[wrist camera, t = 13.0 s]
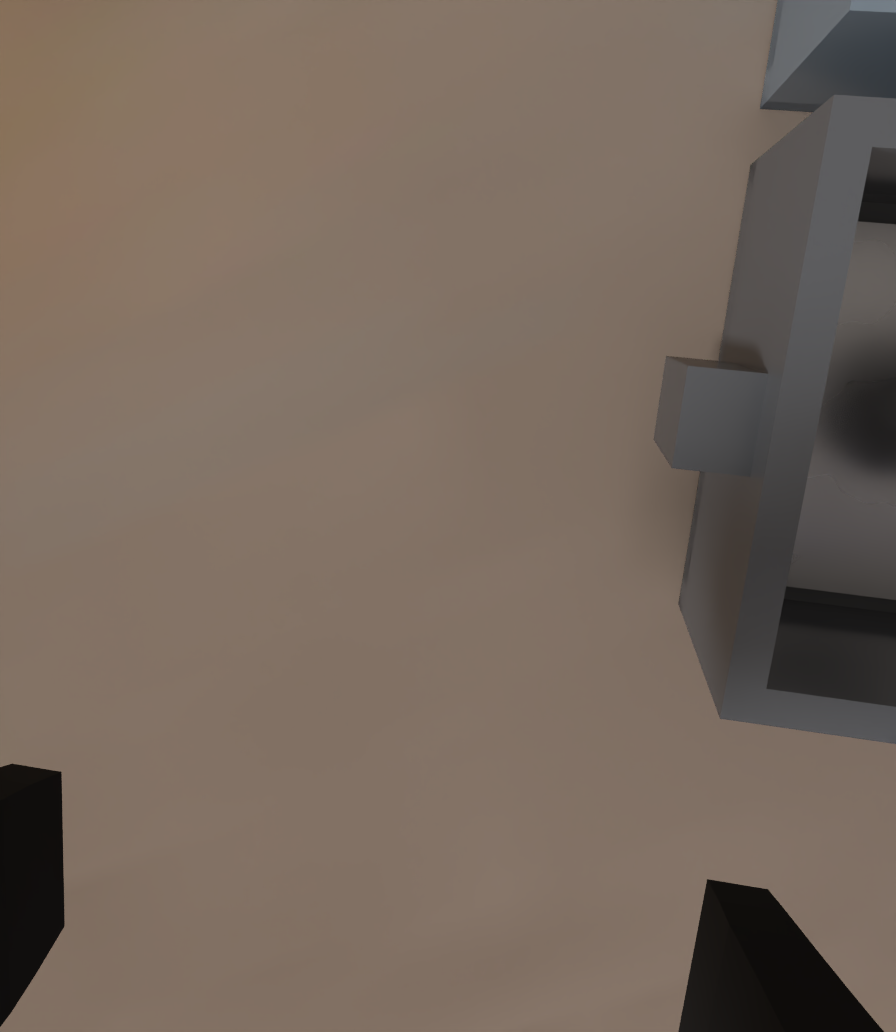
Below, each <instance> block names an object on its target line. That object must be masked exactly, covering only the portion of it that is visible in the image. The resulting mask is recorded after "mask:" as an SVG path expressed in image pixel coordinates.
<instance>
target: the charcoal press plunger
mask: <svg viewBox="0 0 896 1032" xmlns="http://www.w3.org/2000/svg"><path fill="white" fill-rule="evenodd" d="M786 586H788V587H796V588H804V589H812V590H820V591H828V592H836V593H844V594H852V595H860V596H867V597H875V598H883V599H891V600H896V224H885V223H872V222H859V221H858V222H857V227H856V233H855V238H854V243H853V248H852V253H851V258H850V263H849V268H848V273H847V279H846V284H845V289H844V294H843V299H842V304H841V309H840V314H839V319H838V325H837V330H836V335H835V340H834V345H833V350H832V355H831V360H830V365H829V371H828V376H827V381H826V386H825V391H824V396H823V401H822V406H821V411H820V417H819V422H818V427H817V432H816V437H815V442H814V447H813V452H812V457H811V463H810V468H809V473H808V478H807V483H806V488H805V493H804V498H803V503H802V509H801V514H800V519H799V524H798V529H797V534H796V539H795V544H794V549H793V555H792V560H791V565H790V570H789V575H788V580H787V585H786Z"/></svg>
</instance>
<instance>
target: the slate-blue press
mask: <svg viewBox="0 0 896 1032" xmlns="http://www.w3.org/2000/svg"><path fill="white" fill-rule="evenodd" d="M833 95H846V96H863V97H879V98H895V99H896V0H778V2H777V8H776V14H775V20H774V26H773V32H772V38H771V45H770V51H769V57H768V63H767V69H766V75H765V81H764V87H763V93H762V99H761V105H760V109H771V110H787V111H802V112H814V111H815V110H817V109H818V108H819V107H820V106H821V105H823V104H824V103H825V102H826V101H827V100H828V99H830V98H831V97H832V96H833Z"/></svg>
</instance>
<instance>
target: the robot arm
mask: <svg viewBox="0 0 896 1032" xmlns="http://www.w3.org/2000/svg"><path fill="white" fill-rule="evenodd" d="M63 928H64V878H63V829H62V780H61V772H58V771H52V770H46V769H40V768H34V767H28V766H22V765H16V764H10V765H6V766H3V767H0V1026H1V1025H2V1024H3V1022H4V1021H5V1020H6V1018H7V1017H8V1016H9V1015H10V1013H11V1012H12V1010H13V1009H14V1007H15V1006H16V1004H17V1002H18V1001H19V999H20V998H21V996H22V995H23V993H24V992H25V990H26V988H27V987H28V985H29V984H30V982H31V981H32V979H33V977H34V976H35V974H36V973H37V971H38V969H39V968H40V966H41V964H42V963H43V961H44V959H45V958H46V956H47V954H48V953H49V951H50V949H51V948H52V946H53V944H54V943H55V941H56V939H57V938H58V936H59V934H60V933H61V931H62V929H63ZM679 1032H884V1031H883V1030H882V1029H881V1028H880V1027H879V1025H878V1024H877V1023H876V1022H875V1021H874V1020H873V1018H872V1017H871V1016H870V1015H869V1014H868V1012H867V1011H866V1010H865V1009H864V1008H863V1006H862V1005H861V1004H860V1003H859V1002H858V1000H857V999H856V998H855V997H854V995H853V994H852V993H851V992H850V991H849V989H848V988H847V987H846V986H845V984H844V983H843V982H842V981H841V980H840V978H839V977H838V976H837V975H836V973H835V972H834V971H833V970H832V968H831V967H830V966H829V965H828V963H827V962H826V961H825V960H824V959H823V957H822V956H821V955H820V954H819V952H818V951H817V950H816V949H815V947H814V946H813V945H812V944H811V942H810V941H809V940H808V939H807V937H806V936H805V935H804V933H803V932H802V931H801V930H800V928H799V927H798V926H797V925H796V923H795V922H794V921H793V920H792V918H791V917H790V916H789V915H788V913H787V912H786V911H785V910H784V908H783V907H782V906H781V905H780V903H779V902H778V901H777V900H776V899H775V897H774V896H773V895H772V894H771V893H770V891H769V890H768V889H762V888H756V887H750V886H744V885H738V884H732V883H726V882H720V881H714V880H708V879H707V884H706V889H705V894H704V900H703V905H702V910H701V916H700V921H699V926H698V932H697V937H696V942H695V947H694V953H693V958H692V963H691V969H690V974H689V979H688V985H687V990H686V995H685V1000H684V1006H683V1011H682V1016H681V1022H680V1027H679Z"/></svg>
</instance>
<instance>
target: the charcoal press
mask: <svg viewBox="0 0 896 1032" xmlns="http://www.w3.org/2000/svg"><path fill="white" fill-rule="evenodd" d="M858 221H859V222H872V223H885V224H896V99H895V98H879V97H863V96H846V95H833V96H832V97H831V98H830V99H828V100H827V101H826V102H825V103H824V104H823V105H821V106H820V107H819V108H818V109H817V110H815V111H814V112H813V113H812V114H811V115H809V116H808V117H807V118H806V119H805V120H803V121H802V122H801V123H800V124H799V125H797V126H796V127H795V128H794V129H793V130H792V131H790V132H789V133H788V134H787V135H786V136H784V137H783V138H782V139H781V140H780V141H778V142H777V143H776V144H775V145H774V146H772V147H771V148H770V149H769V150H768V151H767V152H765V153H764V154H763V155H762V156H761V157H759V158H758V159H757V160H756V161H755V162H753V163H752V164H751V166H750V172H749V178H748V184H747V190H746V196H745V203H744V209H743V215H742V221H741V227H740V233H739V239H738V245H737V251H736V257H735V263H734V269H733V275H732V282H731V288H730V294H729V300H728V306H727V312H726V318H725V324H724V330H723V336H722V342H721V348H720V354H719V361H713V360H703V359H692V358H682V357H672V356H666V360H665V366H664V373H663V380H662V387H661V393H660V400H659V407H658V413H657V420H656V427H655V433H654V441H655V442H656V444H657V446H658V447H659V449H660V450H661V452H662V453H663V455H664V457H665V458H666V460H667V461H668V463H669V464H670V466H671V468H676V469H685V470H694V471H700V476H699V482H698V488H697V494H696V500H695V506H694V512H693V519H692V525H691V531H690V537H689V543H688V549H687V555H686V561H685V567H684V573H683V579H682V585H681V591H680V598H679V607H680V610H681V612H682V615H683V618H684V621H685V623H686V626H687V629H688V632H689V635H690V637H691V640H692V643H693V646H694V648H695V651H696V654H697V657H698V659H699V662H700V665H701V668H702V670H703V673H704V676H705V679H706V681H707V684H708V687H709V690H710V692H711V695H712V698H713V701H714V704H715V706H716V709H717V712H718V715H719V717H720V719H727V720H734V721H741V722H748V723H755V724H762V725H769V726H775V727H782V728H789V729H796V730H803V731H810V732H817V733H824V734H831V735H838V736H845V737H851V738H858V739H865V740H872V741H879V742H886V743H893V744H896V600H891V599H883V598H875V597H867V596H860V595H852V594H844V593H836V592H828V591H820V590H812V589H804V588H796V587H788V586H786V585H787V580H788V575H789V570H790V565H791V560H792V555H793V549H794V544H795V539H796V534H797V529H798V524H799V519H800V514H801V509H802V503H803V498H804V493H805V488H806V483H807V478H808V473H809V468H810V463H811V457H812V452H813V447H814V442H815V437H816V432H817V427H818V422H819V417H820V411H821V406H822V401H823V396H824V391H825V386H826V381H827V376H828V371H829V365H830V360H831V355H832V350H833V345H834V340H835V335H836V330H837V325H838V319H839V314H840V309H841V304H842V299H843V294H844V289H845V284H846V279H847V273H848V268H849V263H850V258H851V253H852V248H853V243H854V238H855V233H856V227H857V222H858Z"/></svg>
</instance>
